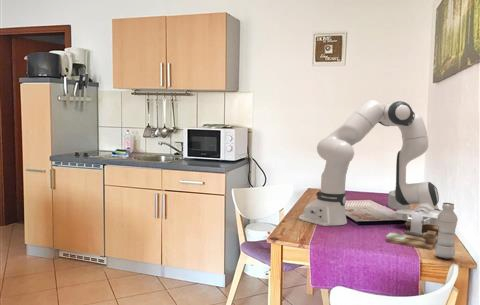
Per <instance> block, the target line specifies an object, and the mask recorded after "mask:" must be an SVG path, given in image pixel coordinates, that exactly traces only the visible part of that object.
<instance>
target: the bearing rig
mask: <svg viewBox="0 0 480 305" xmlns="http://www.w3.org/2000/svg"><path fill="white" fill-rule="evenodd" d="M385 239H386V240H385V241H386V243H391V244H397V245H402V246H406V247H407V246H408V247H413V248H418V249H424V250H430V251H433V249H434V248H435V246H436V243H437V231H434V230H429V229H428V230H427V232H422V233H417V232H411V231H410V230H405V233H403V232H396V231H393V232H389V233H388V234H387V235H386V236H385Z"/></svg>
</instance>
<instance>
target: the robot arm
mask: <svg viewBox="0 0 480 305" xmlns="http://www.w3.org/2000/svg"><path fill="white" fill-rule="evenodd" d="M377 124H380V125H382V126H384V127H398V129H399V130H400V133H401V139H402V145H401V149H400V150H399V151H398V152H397V155H396V165H395V166H396V167H395V168H396V170H395V189H394V190H395V198H396V201H397V202H398V203H400V204H401V205H409V206H410V205H414V204H415V205H416V204H418V205H417V206H416V207H414V209H413V210H417V211H422V212H423V219H422V226H426V225H427V226H428V225H430V226H437V227H438V215H439V213H440V212H441V211H442V210H443V209H439V206H438V204H439V201H440V200H439V199H440V198H439V191H438V188H437V187H436V186H435V184H433V183H432V182H431V181H426V182H425V181H424V182H423V181H422V182H416V183H414V182H413V183H407V181H406V180H407V166H408V164H409V163H410V162H411V161H413V160H415V159H417V158H419V157H422V155H424V154H425V153H426V151H427V150H428V148H429V138H428V131H427V128H426V125H425V122H424V119H423V117H422V116H421V115H420V114H417V113H415V112H414V111H413V109H412V106H410V104H409V103H407V102H405V101H401V100H400V101H399V100H398V101H392V102H388V103H386V104H381V103H380V102H379V101H378V100H375V99H369V100H368V101H366V102H365V103H364V104H362V105H361V106H360V107H358V108H357V109H356V111H354V112H353V114H351V116H350V117H349V118H348V119H346V121H344V123H343V124H342V125H340V126H339V127H338V128H336V129H335V130H334V131H332V133H330V134H329V135H328V136H326V137H324V138H323V139H321V140H320V141H319V142H318V143H317V145H316V152H317V154H318V155H319V156H320V158H321V159H322V160H324V161H325V166H324V169H323V171H322V174H321V176H320V177H321V180H320V189H319V191H318V192H316V193H315V196H316V199H314V200H312V201H311V202H309V203H308V204H306V206H305V208H304V210H303V213H302V214H300V215H298V220H299V221H303V222H307V223H310V224H311V223H312V224H315V225H319V226H322V227H329V226H343V225H346V224H347V223H348V221H347V216H346V202H347V195H346V194H347V193H346V182H347V181H346V180H347V179H346V178H347V174H348V173H347V172H348V170H349V165H350V162H351V161H352V160H353V158H354V155H355V150H354V147H353V146H354V145H355V144H357V143H359V142H361V141H362V140H363V139H364V138H365V137H366V136H367V135H368V134H369V133H370V132H371V131H372V130H373V129H374V127H375V126H376V125H377ZM413 210H411V209H396V211H395V219H396V220H397V221H398V220H399V221H404V222H405V221H406V222H408V223H411V213H412V211H413Z"/></svg>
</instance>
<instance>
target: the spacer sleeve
mask: <svg viewBox="0 0 480 305" xmlns="http://www.w3.org/2000/svg"><path fill="white" fill-rule="evenodd" d="M422 219H423V212H422V211H417V210H414V209H413V211H412V213H411V222H410V230H409V231H411V232H417V233H422V234H423V232H422V230H423V225H422Z"/></svg>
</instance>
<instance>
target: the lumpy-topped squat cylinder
mask: <svg viewBox="0 0 480 305" xmlns="http://www.w3.org/2000/svg"><path fill="white" fill-rule="evenodd" d="M387 207H388V208H389V209H393V210H400V209H406V210H410V205H401V204H400V203H398V202H397V201H396V198H395V189H394V190H390V191H389V192H388V195H387Z"/></svg>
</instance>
